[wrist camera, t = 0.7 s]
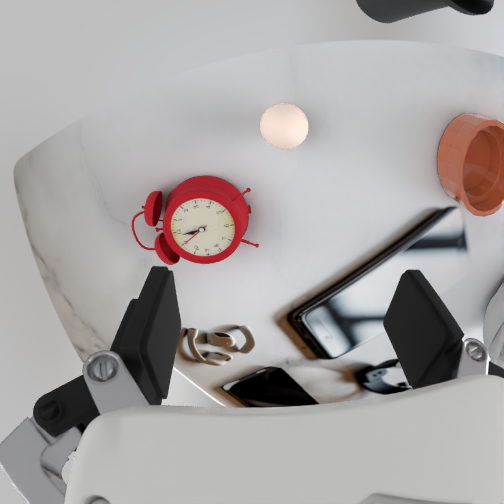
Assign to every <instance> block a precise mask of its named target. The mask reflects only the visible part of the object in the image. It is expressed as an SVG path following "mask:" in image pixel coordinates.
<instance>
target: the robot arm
mask: <svg viewBox="0 0 504 504" xmlns="http://www.w3.org/2000/svg"><path fill="white" fill-rule="evenodd" d="M383 325H384V328H385V330H386V332H387V335H388V337H389V339H390V341H391V343H392V346H393V348H394V350H395V352H396V355H397V357H398V359H399V362H400V364H401V366H402V369H403V371H404V374H405V376H406V378H407V381H408V383H409V385H410V386H412V388H413V390H409V391H405V392H400V393H395V394H390V395H384V396H379V397H373V398H367V399H361V400H354V401H346V402H338V403H330V404H320V405H308V406H294V407H274V408H215V407H192V406H170V405H161V403H162V399H166V398H167V395H168V390H169V384H170V379H171V374H172V369H173V364H174V359H175V354H176V349H177V344H178V340H179V335H180V330H181V319H180V313H179V308H178V302H177V295H176V289H175V283H174V276H173V271H168V268H167V267H161V266H153V267H152V268H151V270H150V272H149V275H148V277H147V279H146V281H145V284H144V286H143V288H142V291H141V293H140V295H139V298H138V299H132V300H131V301H130V303H129V305H128V308H127V310H126V312H125V315H124V317H123V319H122V322H121V324H120V326H119V329H118V331H117V334H116V336H115V339H114V341H113V344H112V346H111V349H110V351H108V350H105V351H99V352H95V353H94V354H92V355H90V356H89V357H88V358H87V359H86V361H85V363H84V365H83V370H82V371H83V375H81V376H79V377H77V378H75V379H74V380H72V381H70V382H68V383H66V384H64V385H62V386H60V387H59V388H56V389H55V390H53V391H51V392H49V393H47V394H45V395H43V396H42V397H40V398H39V399H38V400H37V402H36V403H35V406H34V409H33V415H34V416H33V417H32V418H31V419H29V418H28V417H27V418H26V419H25V420H24V421H23V422H22V423H21V424H20V425H19V426H18V427H17V428H16V429H15V430H14V431H13V432H12V433H10V435H9V436H8V437H7V438H6V439H5V440H4V441H3V442H2V443H1V444H0V466H1V468H2V470H3V471H4V473H5V474H6V476H7V477H8V479H9V480H10V482H11V483H12V484H13V486H14V487H15V488H16V490H17V491H18V493H19V494H20V495H21V497H22V498H23V499H24V500H25V502H26V503H27V504H504V369H503V368H502V367H500V366H498V365H496V364H494V363H492V362H490V361H489V353H488V350H487V348H486V347H485V345H484V344H483V343H481V342H480V341H479V340H477V339H474V338H468V339H466V340H465V341H464V342H463V341H462V340H461V339H462V338H463V336H464V333H463V332H462V330H461V328H460V327H459V325H458V324H457V322H456V321H455V319H454V318H453V316H452V315H451V313H450V312H449V310H448V309H447V307H446V306H445V304H444V303H443V301H442V300H441V299H440V297H439V296H438V294H437V293H436V292H435V290H434V289H433V287H432V286H431V285H430V283H429V282H428V281H427V279H426V278H425V277H424V275H423V274H422V273H421V271H420V270H406V271H405V273H403V274H402V276H401V278H400V281H399V283H398V286H397V288H396V291H395V294H394V296H393V299H392V301H391V303H390V306H389V308H388V311H387V313H386V315H385V318H384V321H383ZM73 451H76V453H75V456H74V459H73V463H72V466H71V471H70V475H69V480H68V485H66V484H65V482H64V481H63V479H62V475H61V472H62V468H63V466H64V464H65V463H66V462H67V461H68V460H69V458H68V456H69V455H70V454H71V453H72V452H73Z"/></svg>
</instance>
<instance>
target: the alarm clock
mask: <svg viewBox="0 0 504 504" xmlns="http://www.w3.org/2000/svg"><path fill="white" fill-rule="evenodd" d="M246 192H250V188H247V190H246V191H244V192H243V193H240V192H239V191H238V190H237V189H236V188H235V187H234V186H233V185H231V184H230V183H228V182H227V181H225V180H223V179H220V178H217V177H212V176H198V177H193V178H190V179H188V180H186V181H184V182H182V183H181V184H179V185H178V186H177V187H176V188H175V189H174V190H173V191H172V193H171V194H170V196H169V198H168V200H167V202H166V206H165V214H164V218H163V220H160V219H159V218H160V214H161V209H162V192H161V191H154V192H152V193H151V194H150V195H149V196H148V198H147V200H146V204H145V206H142V208H144V209H145V210H144V211H142V212H140V213H138V214H137V215H135V216H134V218H133V220H132V230H133V234H134V236H135V239H136V241H137V242H138V244H139V245H140V246H141V247H143V248H144V249H147V250H156V253H157V254H158V256H159V258H160V259H161V260H162V261H163V262H164V263H166V264H168V265H173V264H175V263H177V262H178V261H179V259H180V256H181V257H182V258H184V259H186V260H188V261H191V262H195V263H200V264H210V263H216V262H219V261H222V260H224V259H226V258H227V257H229V256H230V255H231V254H232V253H233V252H234V251H235V250H236V249H237V247H238V246H239V244H240V242H244V243H247V244H251V245H254V246H256V247H259V244H253V243H251V242H249V241H246V240H243V239H242V237H243V235H244V234H245V232H246V229H247V226H248V220H249V214H248V213H251V208H250V206H247V204H246V202H245V199H244V198H243V196H242V195H243V194H245V193H246ZM143 213H144V217H145V221H146V223H147V224H148V225H149V226H153V227H154V226H156V225H157V223H158V221H163V228H160V229H158V228H155V229H156V232H158V231H159V230H163V231H164V233H161V234H159V235H158V236H157V238H156V240H155V248H147V247H145V246H143V245H142V244H141V243H140V242H139V240H138V238H137V236H136V234H135V230H134V220H135V218H136V217H137V216H139V215H141V214H143Z"/></svg>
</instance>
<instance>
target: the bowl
mask: <svg viewBox="0 0 504 504" xmlns="http://www.w3.org/2000/svg"><path fill="white" fill-rule="evenodd" d="M437 165H438V175H439V178H440V182H441V185H442V187H443V188H444V190H445V191H446V193H447V195H448V196H450V197H451V198H453V199H454V200H455V201H457V202H458V203H459V204H461V205H462V206H463V207H465V208H466V209H467V210H469V211H470V212H471V213H473V214H474V215H477V216H487V215H491V214H493V213H495V212H496V211H497V210H499V209H500V208H501V207H502V206H503V205H504V124H503V123H501V122H499V121H497V120H495V119H492V118H489V117H485V116H482V115H478V114H475V113H464V114H462V115H460V116H458V117H456V118H454V119H453V121H452V122H451V123H450V124H449V125H448V127H447V128H446V129H445V132H444V134H443V136H442V138H441V141H440V144H439V149H438V155H437Z"/></svg>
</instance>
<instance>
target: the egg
mask: <svg viewBox="0 0 504 504" xmlns="http://www.w3.org/2000/svg"><path fill="white" fill-rule="evenodd" d="M260 130H261V134H262V135H263V137H264V139H265V140H266V141H267V142H268V143H269V144H270V145H272V146H274V147H276V148H279V149H291V148H294V147H297V146H298V145H300V144H301V143H302V142H303V141H304V140H305V138H306V136H307V134H308V120H307V118H306V116H305V114H304V113H303V112H302V111H301V110H300V109H299V108H298V107H296V106H294V105H292V104H288V103H278V104H275V105H273V106H271V107H269V108H268V109H267V110H266V111H265V112H264V113H263V115H262V118H261V121H260Z"/></svg>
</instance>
